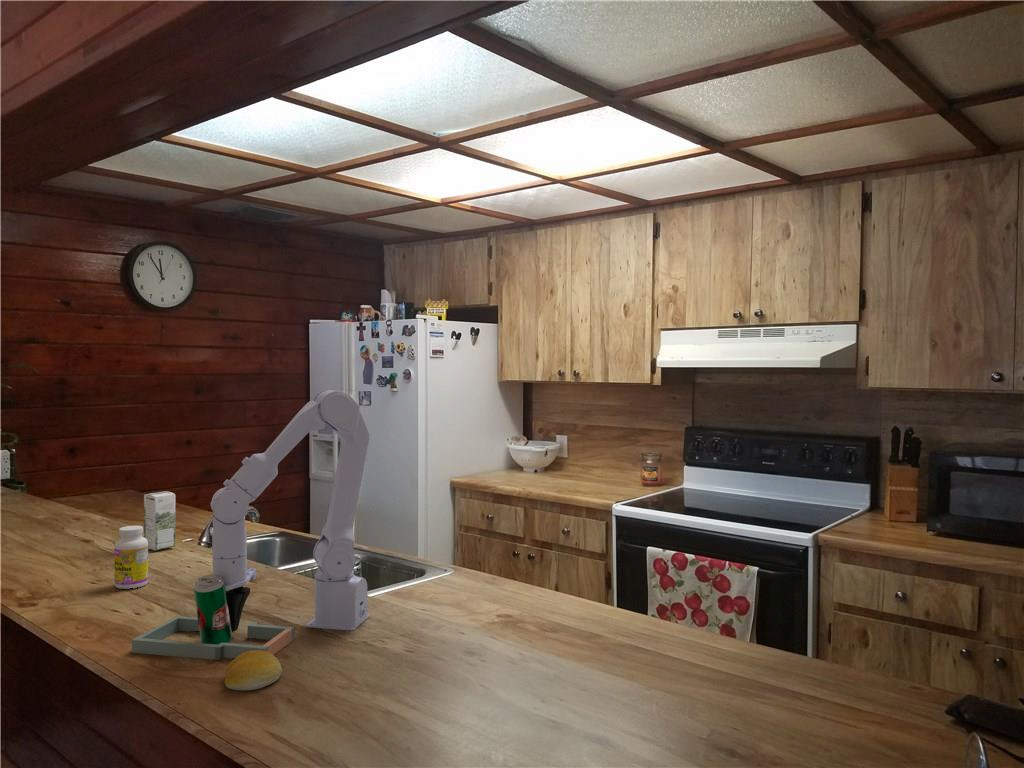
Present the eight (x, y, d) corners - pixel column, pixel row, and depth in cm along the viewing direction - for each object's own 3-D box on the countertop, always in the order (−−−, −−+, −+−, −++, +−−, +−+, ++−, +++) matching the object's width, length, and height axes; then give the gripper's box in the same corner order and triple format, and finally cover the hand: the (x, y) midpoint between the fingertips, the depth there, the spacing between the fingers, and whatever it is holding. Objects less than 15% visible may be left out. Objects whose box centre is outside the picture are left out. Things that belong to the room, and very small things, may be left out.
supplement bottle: (107, 587, 162) (106, 529, 162) (133, 579, 168) (132, 523, 168) (130, 591, 160) (129, 532, 159) (155, 583, 166) (154, 525, 166)
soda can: (220, 652, 126) (211, 588, 124) (195, 648, 128) (185, 585, 125) (238, 636, 131) (230, 574, 128) (214, 633, 133) (205, 571, 130)
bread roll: (224, 696, 109) (223, 669, 109) (226, 674, 117) (225, 649, 117) (283, 687, 112) (281, 660, 111) (281, 666, 120) (280, 641, 120)
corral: (297, 639, 133) (296, 625, 132) (261, 666, 121) (261, 650, 121) (177, 629, 137) (177, 615, 137) (132, 654, 125) (131, 639, 125)
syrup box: (164, 543, 202) (163, 490, 201) (176, 546, 198) (175, 492, 198) (143, 547, 197) (143, 493, 197) (155, 551, 194) (154, 495, 193)
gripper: (232, 544, 141) (232, 615, 141) (184, 564, 126) (185, 643, 127) (266, 546, 139) (267, 617, 140) (221, 567, 125) (222, 646, 125)
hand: (230, 630), depth 133 cm, fingers closed
